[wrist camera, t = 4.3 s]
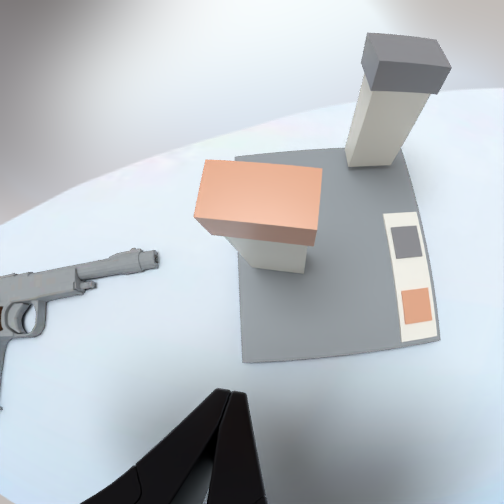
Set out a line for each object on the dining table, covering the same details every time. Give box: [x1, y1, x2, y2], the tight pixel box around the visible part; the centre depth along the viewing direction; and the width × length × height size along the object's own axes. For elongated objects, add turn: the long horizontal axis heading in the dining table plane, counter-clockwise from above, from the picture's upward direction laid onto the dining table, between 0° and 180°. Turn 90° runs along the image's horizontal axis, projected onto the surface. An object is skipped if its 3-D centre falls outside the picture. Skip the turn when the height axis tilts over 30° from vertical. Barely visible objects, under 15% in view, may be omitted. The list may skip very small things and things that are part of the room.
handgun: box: [0, 248, 158, 410], centre depth 20 cm, size 2×23×12 cm
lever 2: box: [345, 33, 451, 167], centre depth 15 cm, size 2×3×10 cm, turn 93°
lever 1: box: [194, 160, 323, 274], centre depth 14 cm, size 2×3×10 cm, turn 81°
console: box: [235, 148, 440, 363], centre depth 20 cm, size 14×12×1 cm
